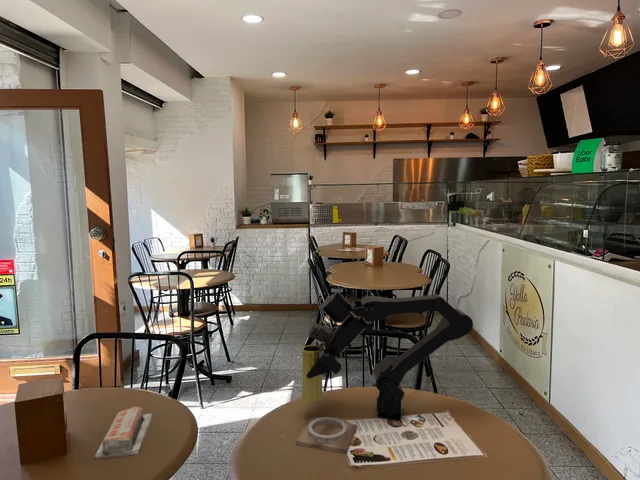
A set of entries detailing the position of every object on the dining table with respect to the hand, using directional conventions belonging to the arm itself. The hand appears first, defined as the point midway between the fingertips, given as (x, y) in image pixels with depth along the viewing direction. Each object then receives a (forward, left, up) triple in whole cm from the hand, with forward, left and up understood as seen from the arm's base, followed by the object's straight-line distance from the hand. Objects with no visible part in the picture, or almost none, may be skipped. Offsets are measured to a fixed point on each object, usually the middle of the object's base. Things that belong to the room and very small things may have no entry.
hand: (307, 372), depth 122 cm
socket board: (-8, +8, -13) cm, 17 cm away
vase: (-1, -1, -7) cm, 8 cm away
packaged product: (+42, +23, -13) cm, 50 cm away
